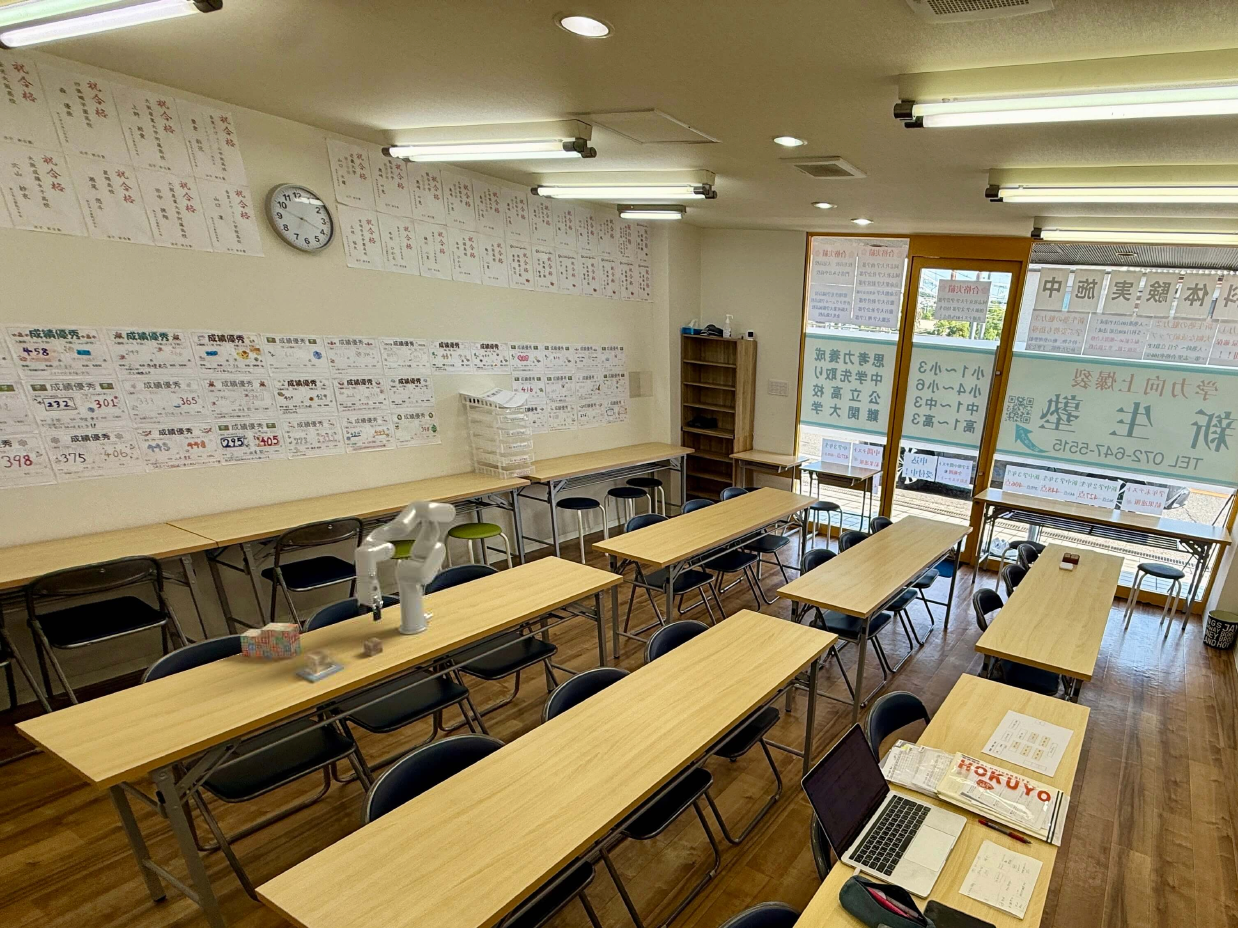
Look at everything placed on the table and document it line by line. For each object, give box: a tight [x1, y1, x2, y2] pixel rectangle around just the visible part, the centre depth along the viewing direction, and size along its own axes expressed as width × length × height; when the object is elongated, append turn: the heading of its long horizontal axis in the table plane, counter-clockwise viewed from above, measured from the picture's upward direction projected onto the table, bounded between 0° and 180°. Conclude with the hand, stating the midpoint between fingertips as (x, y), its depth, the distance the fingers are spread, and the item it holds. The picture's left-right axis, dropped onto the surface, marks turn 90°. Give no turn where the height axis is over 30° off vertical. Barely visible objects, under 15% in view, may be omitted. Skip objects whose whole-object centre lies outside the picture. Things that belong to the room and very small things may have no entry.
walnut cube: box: [363, 637, 384, 657], centre depth 237 cm, size 5×5×5 cm
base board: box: [296, 659, 345, 684], centre depth 223 cm, size 12×12×1 cm
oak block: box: [307, 648, 333, 674], centre depth 223 cm, size 6×6×6 cm
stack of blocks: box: [239, 622, 302, 659], centre depth 236 cm, size 21×6×12 cm, turn 85°
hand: (370, 617), depth 235 cm, fingers open, 9 cm apart
